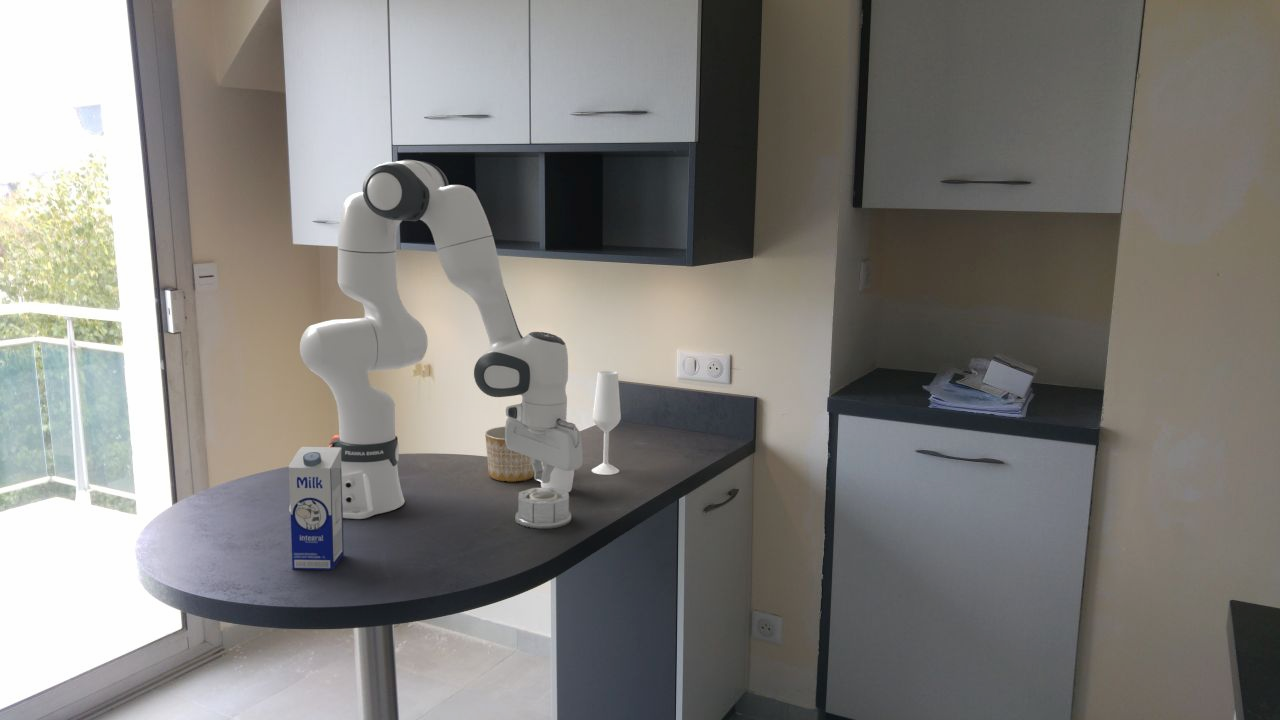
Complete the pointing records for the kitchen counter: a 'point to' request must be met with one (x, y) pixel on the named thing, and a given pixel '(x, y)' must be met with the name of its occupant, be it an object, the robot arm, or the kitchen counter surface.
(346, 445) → the robot arm
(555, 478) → the cup
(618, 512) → the kitchen counter surface
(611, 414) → the champagne flute
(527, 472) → the planter
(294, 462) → the milk carton
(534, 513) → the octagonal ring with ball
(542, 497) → the cap
